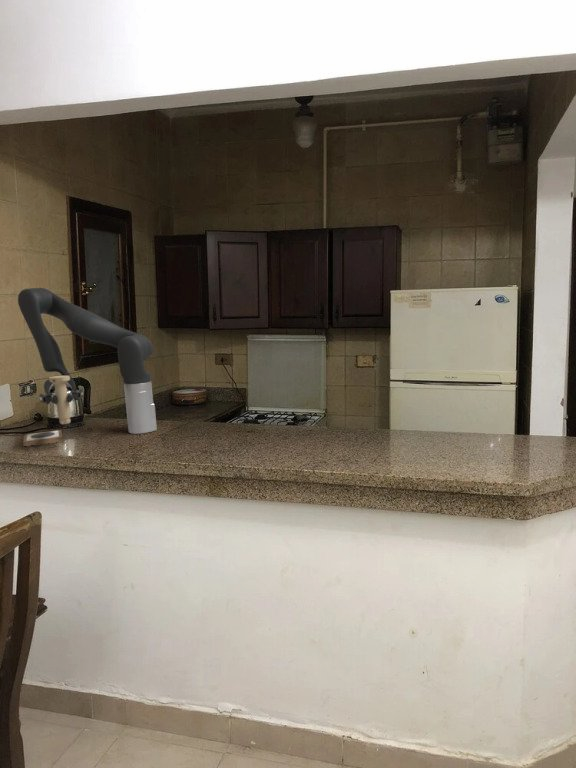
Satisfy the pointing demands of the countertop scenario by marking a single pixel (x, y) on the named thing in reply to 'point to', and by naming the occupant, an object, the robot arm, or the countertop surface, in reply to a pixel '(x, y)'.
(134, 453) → the countertop surface
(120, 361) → the robot arm
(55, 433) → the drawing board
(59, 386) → the handle
